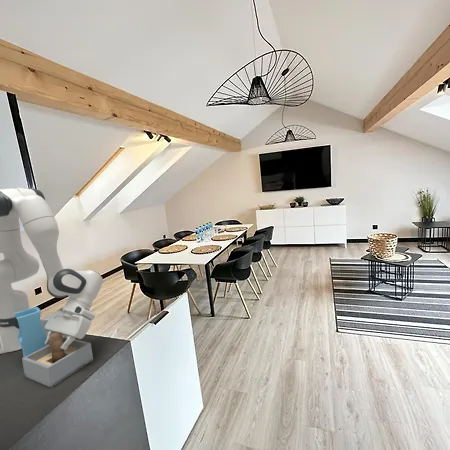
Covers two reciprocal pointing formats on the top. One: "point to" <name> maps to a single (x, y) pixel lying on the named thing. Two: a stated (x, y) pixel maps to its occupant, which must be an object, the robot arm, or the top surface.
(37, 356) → the bore box
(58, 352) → the peg
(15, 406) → the top surface
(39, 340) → the blue curved piece
